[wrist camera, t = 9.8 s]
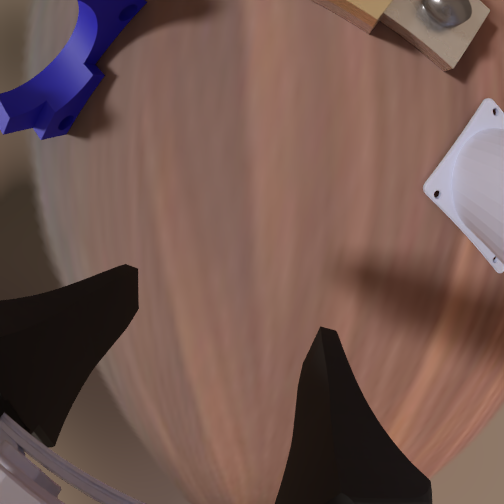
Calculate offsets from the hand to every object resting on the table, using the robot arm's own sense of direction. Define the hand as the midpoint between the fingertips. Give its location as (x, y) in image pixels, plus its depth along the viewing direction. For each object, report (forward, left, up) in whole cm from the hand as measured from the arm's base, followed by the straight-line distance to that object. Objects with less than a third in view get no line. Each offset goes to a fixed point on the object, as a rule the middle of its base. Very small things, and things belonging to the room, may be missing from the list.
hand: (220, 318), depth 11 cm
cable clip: (+18, -4, -10) cm, 21 cm away
